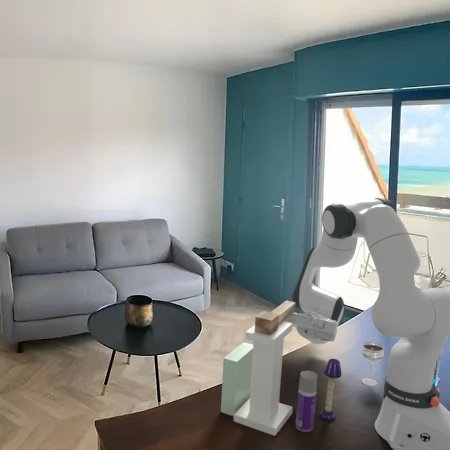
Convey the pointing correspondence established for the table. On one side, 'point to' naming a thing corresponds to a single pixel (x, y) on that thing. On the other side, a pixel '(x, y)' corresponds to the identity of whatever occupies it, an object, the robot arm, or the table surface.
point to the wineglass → (372, 358)
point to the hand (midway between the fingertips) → (299, 317)
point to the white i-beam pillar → (266, 382)
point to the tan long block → (273, 318)
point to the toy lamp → (330, 388)
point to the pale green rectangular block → (236, 378)
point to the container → (306, 401)
